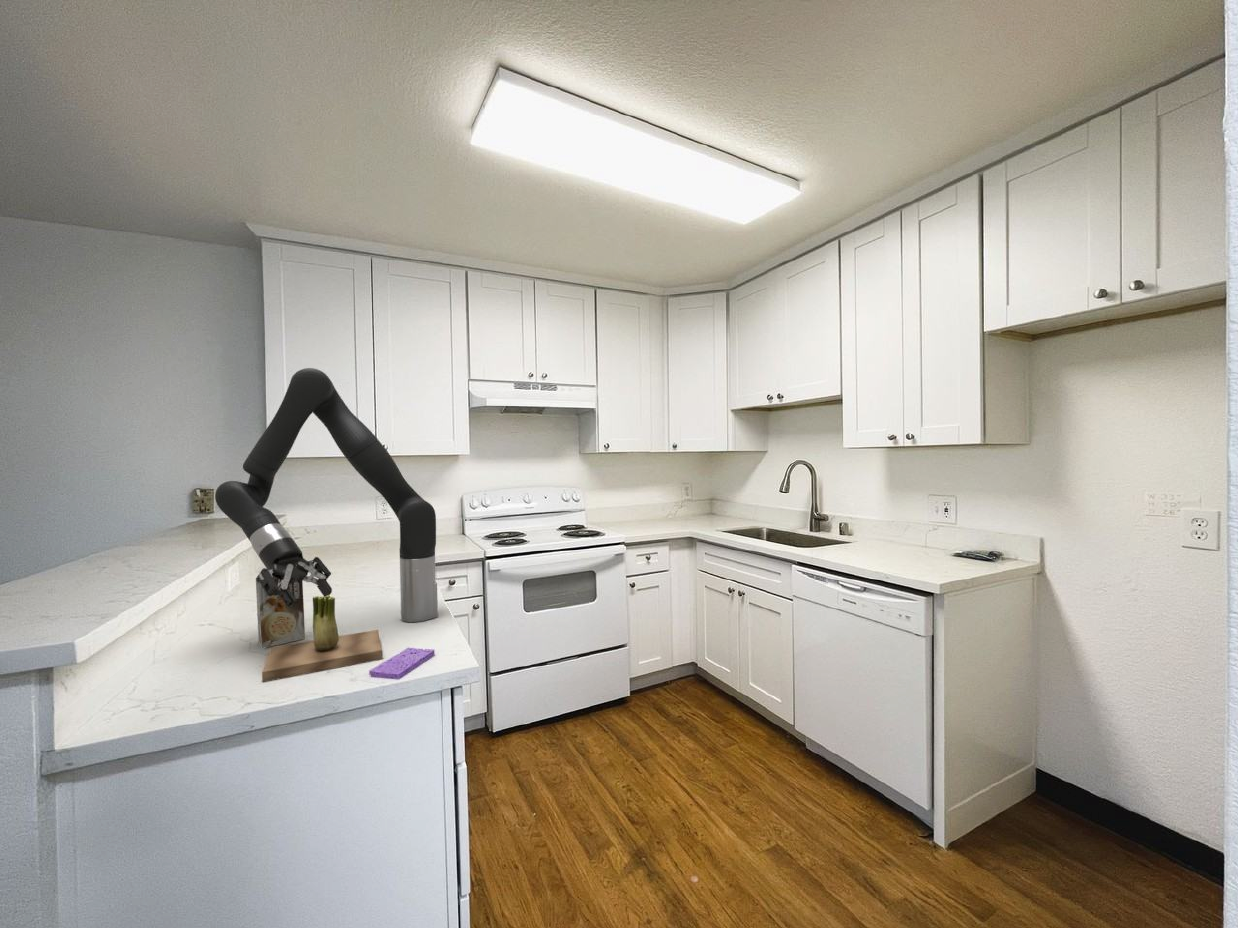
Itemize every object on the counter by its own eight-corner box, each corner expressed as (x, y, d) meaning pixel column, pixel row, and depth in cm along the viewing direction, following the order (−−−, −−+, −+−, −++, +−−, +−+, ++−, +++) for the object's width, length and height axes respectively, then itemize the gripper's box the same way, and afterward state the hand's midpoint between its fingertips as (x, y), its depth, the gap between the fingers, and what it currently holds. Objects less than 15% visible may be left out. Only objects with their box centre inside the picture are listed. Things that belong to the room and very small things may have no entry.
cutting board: (378, 637, 124) (378, 629, 124) (382, 658, 111) (382, 649, 111) (271, 655, 114) (271, 647, 114) (262, 681, 101) (262, 672, 101)
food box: (301, 632, 129) (299, 570, 129) (305, 639, 124) (303, 575, 124) (257, 641, 123) (255, 577, 122) (260, 649, 118) (258, 581, 118)
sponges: (435, 657, 113) (434, 649, 113) (398, 682, 101) (397, 673, 101) (408, 654, 115) (408, 646, 115) (368, 678, 103) (368, 669, 103)
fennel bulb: (310, 648, 113) (308, 595, 113) (334, 641, 117) (332, 591, 116) (318, 654, 109) (317, 600, 109) (342, 648, 113) (341, 595, 112)
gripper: (251, 541, 110) (289, 598, 106) (311, 531, 123) (347, 581, 119) (236, 564, 112) (273, 620, 108) (297, 552, 125) (331, 601, 121)
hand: (312, 599), depth 114 cm, fingers open, 8 cm apart
